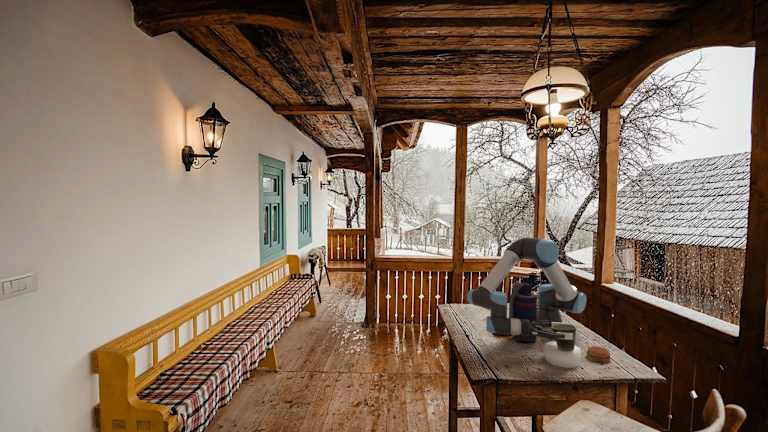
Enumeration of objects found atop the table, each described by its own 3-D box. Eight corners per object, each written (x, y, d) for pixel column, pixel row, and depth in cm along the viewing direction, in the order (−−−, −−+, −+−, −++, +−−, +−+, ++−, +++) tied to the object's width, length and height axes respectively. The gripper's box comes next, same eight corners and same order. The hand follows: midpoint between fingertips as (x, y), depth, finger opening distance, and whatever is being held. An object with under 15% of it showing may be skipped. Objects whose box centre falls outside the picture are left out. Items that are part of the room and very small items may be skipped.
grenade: (530, 335, 202) (530, 280, 201) (540, 343, 190) (541, 285, 189) (505, 335, 201) (505, 281, 200) (514, 344, 190) (514, 286, 188)
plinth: (562, 351, 180) (562, 339, 180) (588, 364, 166) (588, 351, 165) (537, 356, 175) (537, 343, 175) (562, 370, 161) (562, 356, 161)
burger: (614, 363, 168) (614, 353, 167) (593, 363, 168) (594, 353, 168) (602, 354, 178) (602, 344, 177) (582, 354, 178) (583, 344, 178)
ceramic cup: (569, 344, 173) (566, 322, 174) (583, 350, 163) (580, 328, 164) (543, 348, 171) (541, 326, 172) (556, 354, 162) (554, 331, 162)
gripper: (518, 326, 187) (564, 329, 181) (522, 344, 163) (575, 350, 157) (518, 311, 186) (564, 314, 181) (522, 328, 163) (575, 332, 157)
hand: (569, 331), depth 169 cm, fingers open, 13 cm apart
